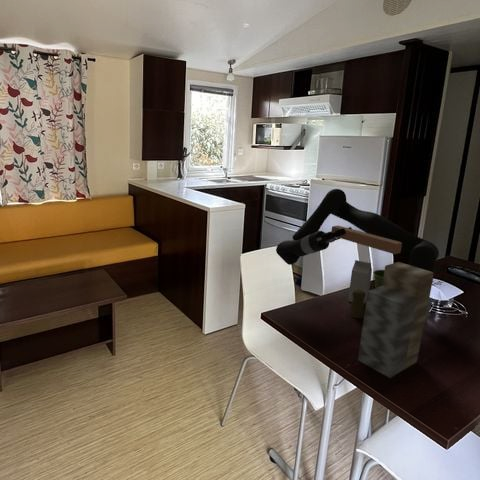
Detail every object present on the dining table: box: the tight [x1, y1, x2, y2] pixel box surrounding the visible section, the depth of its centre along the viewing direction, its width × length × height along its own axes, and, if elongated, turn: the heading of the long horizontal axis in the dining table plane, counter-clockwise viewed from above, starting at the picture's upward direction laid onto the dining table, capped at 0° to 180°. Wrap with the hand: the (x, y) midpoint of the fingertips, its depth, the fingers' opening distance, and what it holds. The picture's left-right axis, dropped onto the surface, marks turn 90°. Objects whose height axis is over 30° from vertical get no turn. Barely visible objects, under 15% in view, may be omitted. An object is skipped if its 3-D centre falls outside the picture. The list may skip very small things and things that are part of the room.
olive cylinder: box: [348, 290, 365, 319], centre depth 160 cm, size 6×6×11 cm
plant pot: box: [372, 269, 385, 288], centre depth 181 cm, size 12×12×11 cm
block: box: [330, 225, 402, 255], centre depth 134 cm, size 26×4×4 cm, turn 38°
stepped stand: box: [357, 261, 435, 379], centre depth 124 cm, size 12×16×32 cm
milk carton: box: [347, 259, 373, 305], centre depth 173 cm, size 7×7×19 cm
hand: (348, 230), depth 139 cm, fingers closed on block, 3 cm apart
